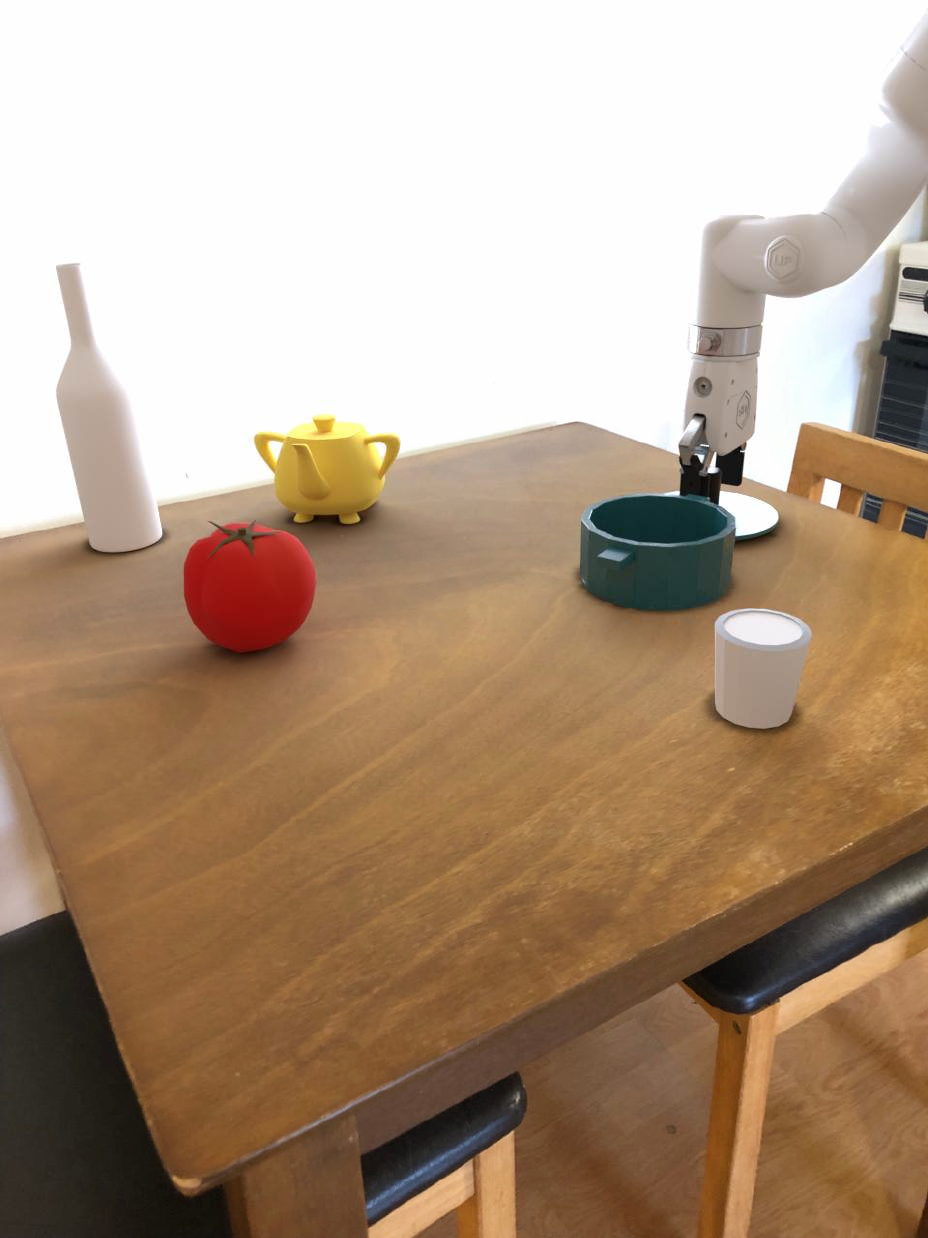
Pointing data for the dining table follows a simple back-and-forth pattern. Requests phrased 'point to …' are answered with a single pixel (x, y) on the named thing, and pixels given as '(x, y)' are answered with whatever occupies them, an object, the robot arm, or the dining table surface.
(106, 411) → the bottle
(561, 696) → the dining table surface
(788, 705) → the white cup
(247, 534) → the tomato
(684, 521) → the pot
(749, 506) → the lid
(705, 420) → the robot arm
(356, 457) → the teapot
